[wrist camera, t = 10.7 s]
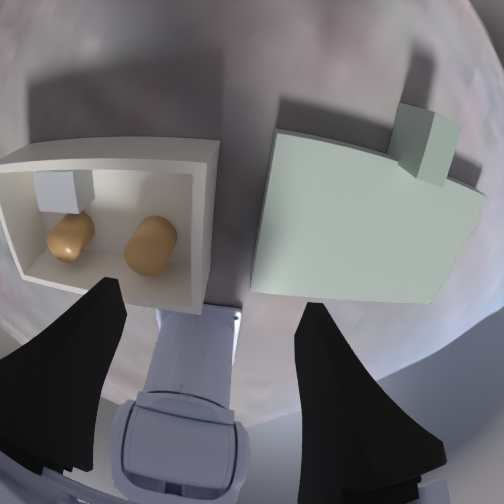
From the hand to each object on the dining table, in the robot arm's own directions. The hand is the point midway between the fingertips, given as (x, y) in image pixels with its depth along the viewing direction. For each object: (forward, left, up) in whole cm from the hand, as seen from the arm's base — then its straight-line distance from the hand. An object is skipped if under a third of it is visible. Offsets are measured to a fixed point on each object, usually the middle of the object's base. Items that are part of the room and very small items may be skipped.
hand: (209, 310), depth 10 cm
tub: (-1, +9, -10) cm, 13 cm away
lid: (+1, -11, -10) cm, 15 cm away
